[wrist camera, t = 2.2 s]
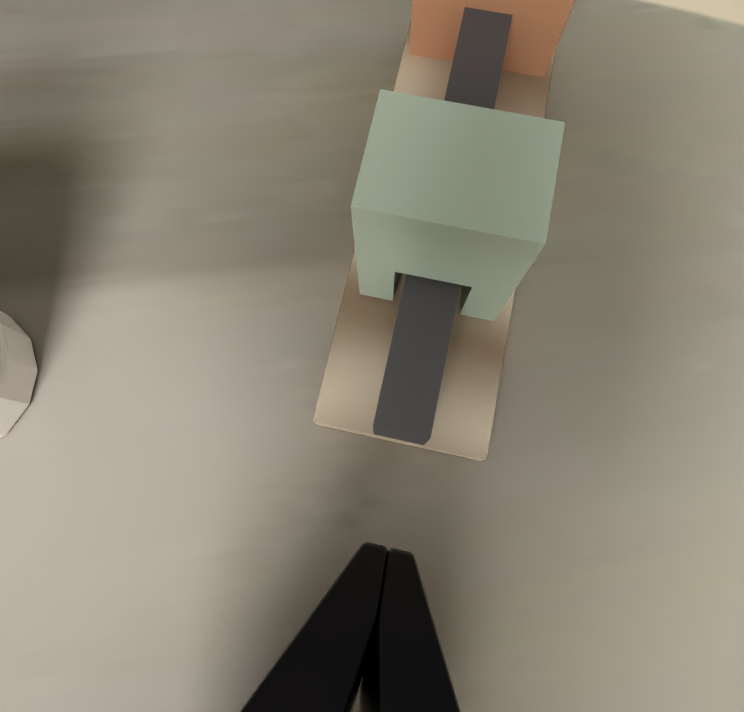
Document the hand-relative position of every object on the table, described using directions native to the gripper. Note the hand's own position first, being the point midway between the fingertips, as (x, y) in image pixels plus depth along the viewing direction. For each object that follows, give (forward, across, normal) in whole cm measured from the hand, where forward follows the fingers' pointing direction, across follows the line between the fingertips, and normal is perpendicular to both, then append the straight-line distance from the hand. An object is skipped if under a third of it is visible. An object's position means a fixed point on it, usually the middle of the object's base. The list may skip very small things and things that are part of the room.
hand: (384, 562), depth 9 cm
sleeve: (+16, 0, +1) cm, 16 cm away
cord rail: (+18, 0, -1) cm, 18 cm away
